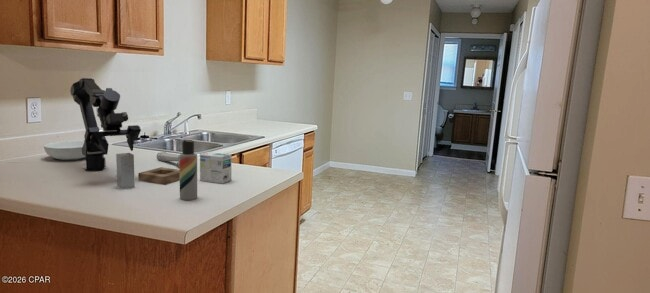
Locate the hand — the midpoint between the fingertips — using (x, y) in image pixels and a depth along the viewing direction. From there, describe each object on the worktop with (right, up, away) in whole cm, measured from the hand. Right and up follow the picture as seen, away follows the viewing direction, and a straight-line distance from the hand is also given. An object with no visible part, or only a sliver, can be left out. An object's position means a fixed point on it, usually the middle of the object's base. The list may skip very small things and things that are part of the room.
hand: (119, 151), depth 162 cm
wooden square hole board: (+12, -11, +11) cm, 20 cm away
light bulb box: (+32, -12, +13) cm, 37 cm away
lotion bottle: (+29, -16, -13) cm, 36 cm away
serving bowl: (-42, -4, +42) cm, 60 cm away
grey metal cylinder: (+6, -7, +39) cm, 40 cm away
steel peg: (+3, -13, -2) cm, 13 cm away
